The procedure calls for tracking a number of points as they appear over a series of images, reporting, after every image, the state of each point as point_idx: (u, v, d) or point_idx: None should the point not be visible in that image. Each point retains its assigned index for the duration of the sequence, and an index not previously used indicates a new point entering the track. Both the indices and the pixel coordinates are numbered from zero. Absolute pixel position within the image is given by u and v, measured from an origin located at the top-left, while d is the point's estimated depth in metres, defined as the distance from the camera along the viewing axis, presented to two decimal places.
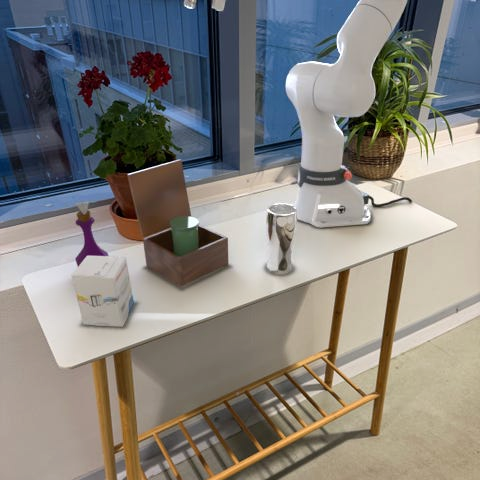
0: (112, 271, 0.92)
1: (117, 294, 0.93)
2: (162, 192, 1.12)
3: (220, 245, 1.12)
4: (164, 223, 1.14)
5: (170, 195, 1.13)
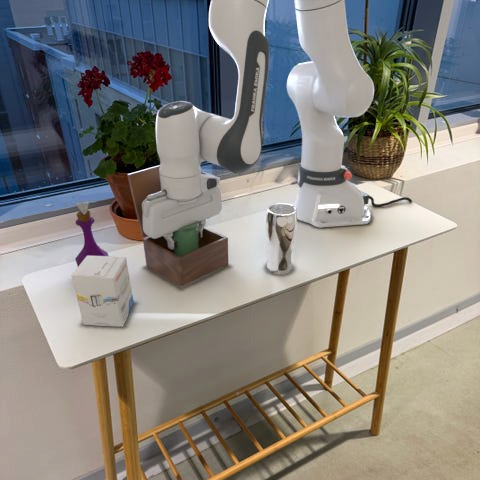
0: (112, 271, 0.92)
1: (117, 294, 0.93)
2: None
3: (220, 245, 1.12)
4: None
5: None
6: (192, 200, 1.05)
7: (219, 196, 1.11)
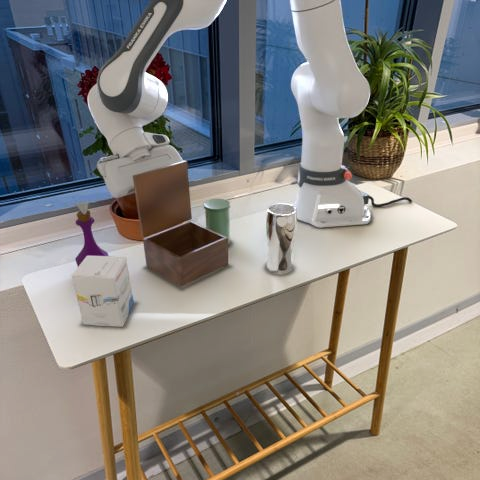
0: (113, 271, 0.92)
1: (117, 294, 0.93)
2: (165, 193, 1.11)
3: (220, 245, 1.12)
4: (165, 223, 1.14)
5: (173, 196, 1.13)
6: (144, 153, 1.10)
7: (176, 153, 1.16)
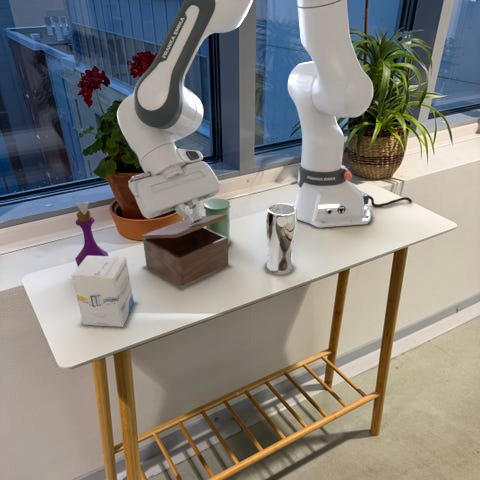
0: (113, 271, 0.92)
1: (117, 294, 0.93)
2: None
3: (220, 245, 1.12)
4: None
5: None
6: (177, 170, 1.04)
7: (210, 170, 1.09)
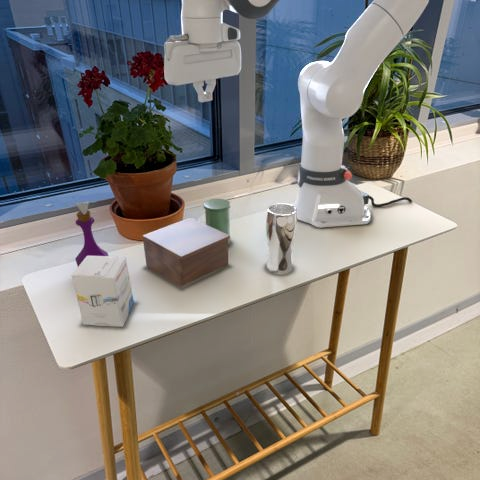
0: (112, 271, 0.92)
1: (117, 294, 0.93)
2: None
3: (220, 245, 1.12)
4: None
5: None
6: (213, 48, 1.05)
7: (239, 52, 1.11)
